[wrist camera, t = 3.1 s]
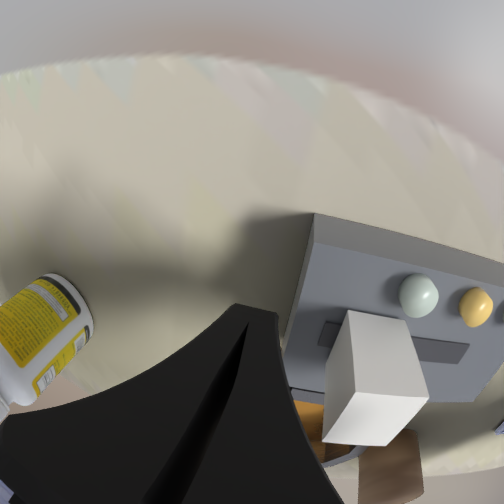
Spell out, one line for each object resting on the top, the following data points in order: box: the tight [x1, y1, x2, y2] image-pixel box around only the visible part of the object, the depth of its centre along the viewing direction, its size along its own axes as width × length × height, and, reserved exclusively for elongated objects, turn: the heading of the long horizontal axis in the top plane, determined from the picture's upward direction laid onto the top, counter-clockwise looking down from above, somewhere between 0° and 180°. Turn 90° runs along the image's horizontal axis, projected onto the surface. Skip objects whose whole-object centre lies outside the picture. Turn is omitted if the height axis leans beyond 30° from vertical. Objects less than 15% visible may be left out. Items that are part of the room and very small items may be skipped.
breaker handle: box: [322, 310, 430, 446], centre depth 7 cm, size 2×2×3 cm
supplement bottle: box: [0, 273, 94, 422], centre depth 12 cm, size 5×5×10 cm
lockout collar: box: [289, 386, 369, 468], centre depth 14 cm, size 10×10×2 cm
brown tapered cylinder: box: [358, 429, 424, 504], centre depth 13 cm, size 4×4×5 cm
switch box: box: [281, 213, 504, 402], centre depth 10 cm, size 10×6×4 cm, turn 82°
